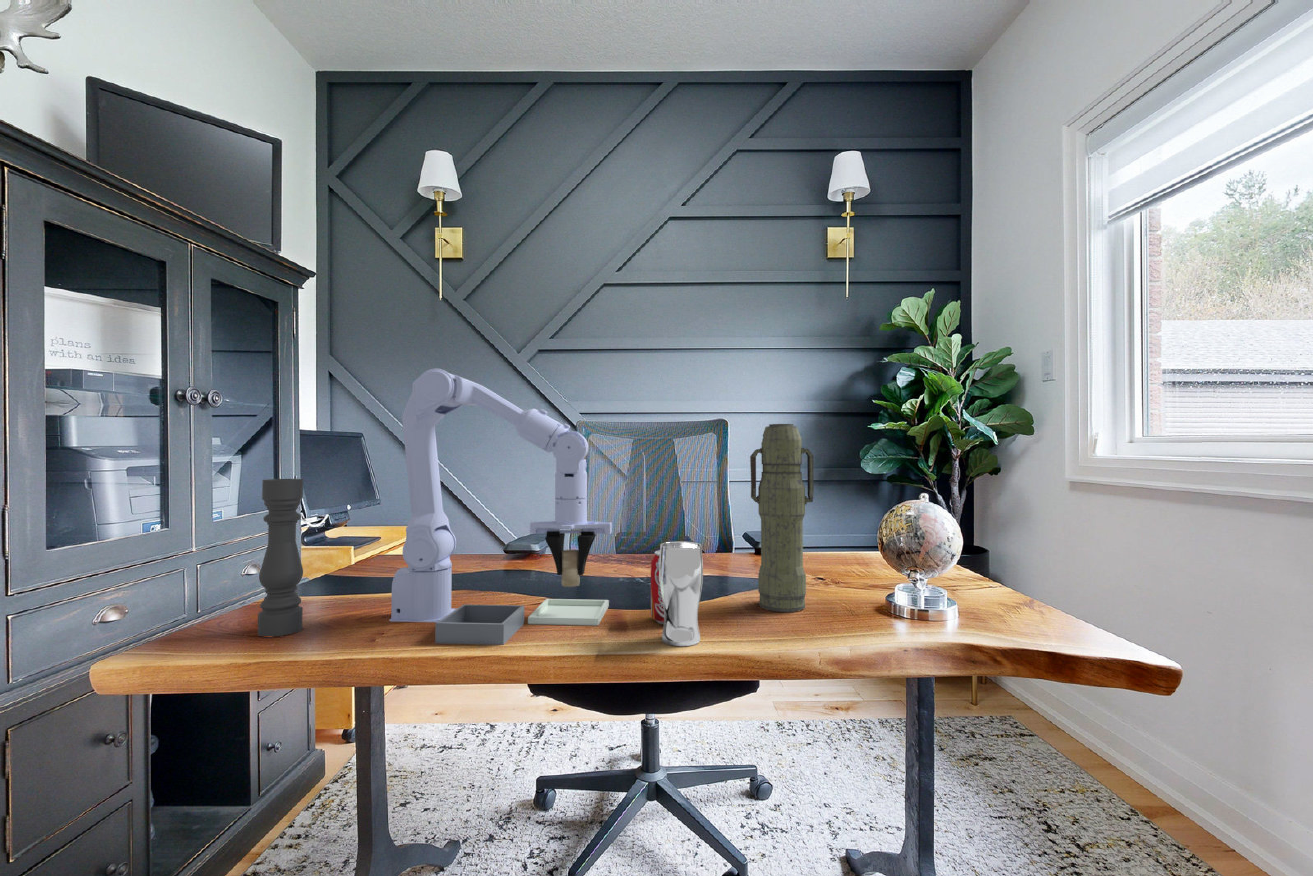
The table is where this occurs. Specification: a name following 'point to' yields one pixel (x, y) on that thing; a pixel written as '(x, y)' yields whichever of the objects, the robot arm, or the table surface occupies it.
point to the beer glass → (680, 591)
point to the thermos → (782, 517)
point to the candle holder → (281, 559)
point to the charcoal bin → (480, 624)
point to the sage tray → (569, 612)
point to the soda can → (656, 591)
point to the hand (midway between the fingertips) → (570, 574)
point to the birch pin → (570, 568)
